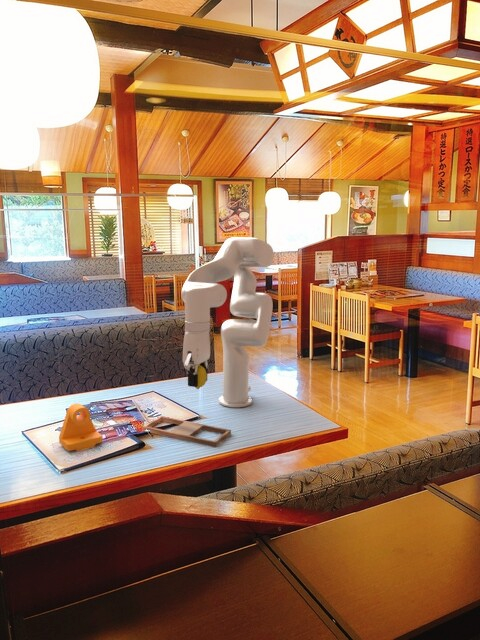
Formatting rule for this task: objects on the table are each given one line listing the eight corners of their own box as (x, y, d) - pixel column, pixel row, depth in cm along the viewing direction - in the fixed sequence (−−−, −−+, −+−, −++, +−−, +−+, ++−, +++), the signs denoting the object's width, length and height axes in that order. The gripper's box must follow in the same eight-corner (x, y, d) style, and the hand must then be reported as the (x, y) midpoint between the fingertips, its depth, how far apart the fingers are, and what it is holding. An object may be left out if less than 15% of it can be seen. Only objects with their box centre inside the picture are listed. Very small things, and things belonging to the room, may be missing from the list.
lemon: (204, 392, 156) (204, 367, 155) (186, 391, 157) (186, 366, 156) (208, 386, 161) (208, 362, 160) (191, 385, 162) (191, 361, 161)
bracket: (68, 453, 148) (66, 414, 146) (59, 445, 153) (57, 407, 151) (103, 444, 154) (102, 406, 152) (93, 436, 160) (92, 400, 158)
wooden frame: (161, 420, 174) (160, 415, 174) (231, 434, 163) (231, 430, 162) (142, 431, 164) (142, 426, 164) (215, 447, 153) (215, 442, 153)
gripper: (199, 320, 165) (200, 374, 168) (172, 330, 149) (173, 389, 153) (220, 322, 162) (220, 377, 165) (194, 333, 146) (195, 393, 150)
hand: (197, 382), depth 159 cm, fingers closed on lemon, 5 cm apart
